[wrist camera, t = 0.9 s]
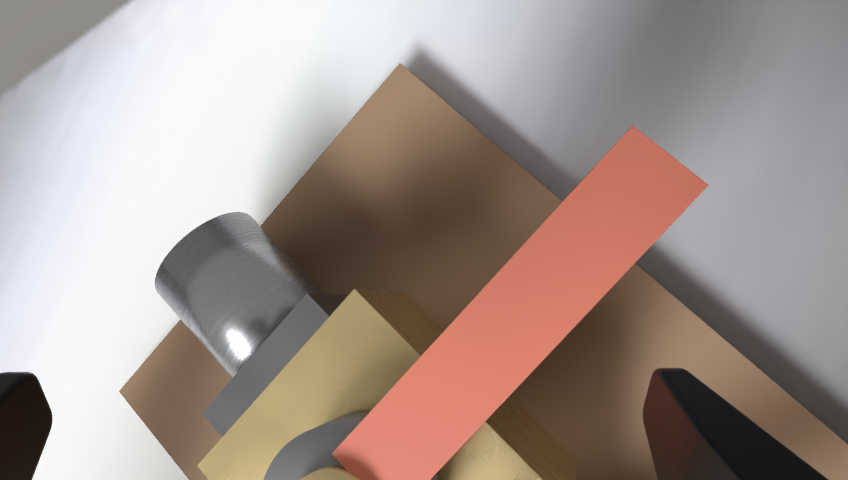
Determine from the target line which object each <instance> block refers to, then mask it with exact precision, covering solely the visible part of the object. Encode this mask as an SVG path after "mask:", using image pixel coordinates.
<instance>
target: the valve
mask: <svg viewBox="0 0 848 480" xmlns="http://www.w3.org/2000/svg"><path fill="white" fill-rule="evenodd" d="M155 288H156V291H157V292H158V294H159V295H160V296H161V297H162V298H163V299H164V301H165V302H166V303H167V304H168V305H169V306H170V307H171V309H172V310H173V311H174V312H175V313H176V314H177V316H178V317H179V318H180V319H181V320H182V321H183V322H184V324H185V325H186V326H187V327H188V328H189V329H190V331H191V332H192V333H193V334H194V335H195V336H196V338H197V339H198V340H199V341H200V342H201V343H202V344H203V346H204V347H205V348H206V349H207V350H208V351H209V353H210V354H211V355H212V356H213V357H214V358H215V360H216V361H217V362H218V363H219V364H220V365H221V366H222V368H223V369H224V370H225V371H226V372H227V373H228V375H229V376H230V377H231V378H232V379H231V380H230V381H229V382H228V384H227V385H226V386H225V387H224V388H223V389H222V390H221V392H220V393H219V394H218V395H217V396H216V397H215V398H214V400H213V401H212V402H211V403H210V404H209V405H208V406H207V408H206V409H205V410H204V411H203V412H202V413H203V415H204V416H205V417H206V418H207V419H208V421H209V422H210V423H211V424H212V425H213V427H214V428H215V429H216V430H217V432H218V433H219V434H220V435H221V436H222V438H221V439H220V440H219V442H218V443H217V444H216V445H215V446H214V447H213V448H212V449H211V451H210V452H209V453H208V454H207V455H206V456H205V457H204V458H203V460H202V461H201V462H200V463H199V464H198V465H197V466H198V467H199V469H200V470H201V471H202V472H203V474H204V475H205V476H206V477H207V479H208V480H264V477H265V474H266V472H267V470H268V468H269V466H270V464H271V462H272V461H273V459H274V458H275V456H276V455H277V454H278V452H279V451H280V450H281V449H282V448H283V447H284V446H285V445H286V444H287V443H288V442H290V441H291V440H292V439H294V438H295V437H297V436H298V435H300V434H302V433H304V432H306V431H308V430H311V429H313V428H315V427H317V426H320V425H322V424H324V423H326V422H329V421H331V420H333V419H335V418H338V417H340V416H343V415H346V414H350V413H355V412H370V411H371V410H372V409H373V408H374V407H375V406H376V405H377V404H378V403H379V402H380V400H381V399H382V398H383V397H384V396H385V395H386V394H387V393H388V392H389V391H390V390H391V388H392V387H393V386H394V385H395V384H396V383H397V382H398V381H399V380H400V379H401V378H402V376H403V375H404V374H405V373H406V372H407V371H408V370H409V369H410V368H411V367H412V366H413V364H414V363H415V362H416V361H417V360H418V359H419V358H420V357H421V356H422V355H423V354H424V352H425V351H426V350H427V349H428V348H429V347H430V346H431V345H432V344H433V343H434V342H435V340H436V339H437V338H438V337H439V336H440V335H441V334H442V333H443V332H444V331H445V330H444V329H443V328H441V327H440V326H439V325H438V324H437V323H436V322H435V321H434V320H433V319H432V318H431V317H430V316H429V315H428V314H427V313H426V312H425V311H424V310H423V309H422V308H421V307H420V306H419V305H418V304H417V303H416V302H415V301H414V300H413V299H412V298H411V297H410V296H409V295H408V294H407V293H406V292H396V291H381V290H366V289H354V290H353V291H352V292H351V293H350V294H349V295H341V294H325V293H324V292H323V291H322V289H321V288H320V287H319V286H318V285H317V284H316V283H315V282H314V281H313V280H312V279H311V278H310V277H309V276H308V275H307V274H306V273H305V272H304V271H303V270H302V269H301V268H300V267H299V266H298V265H297V264H296V263H295V262H294V260H293V259H292V258H291V257H290V256H289V255H288V254H287V253H286V252H285V251H284V250H283V249H282V248H281V247H280V246H279V245H278V244H277V243H276V242H275V241H274V240H273V239H272V238H271V237H270V236H269V235H268V234H267V233H266V231H265V230H264V229H263V228H262V227H261V226H260V225H259V224H258V223H257V222H256V221H255V220H254V219H253V218H252V217H251V216H250V215H248V214H246V213H241V212H233V213H228V214H224V215H221V216H218V217H215V218H213V219H211V220H209V221H207V222H205V223H203V224H202V225H200V226H199V227H197V228H196V229H194V230H193V231H191V232H190V233H189V234H187V235H186V236H185V237H184V238H183V239H182V240H181V241H180V242H178V243H177V244H176V245H175V246H174V248H173V249H172V250H171V251H170V252H169V253H168V255H167V256H166V257H165V259H164V260H163V262H162V263H161V265H160V267H159V269H158V272H157V274H156V278H155ZM577 465H578V461H576V460H575V459H574V458H573V457H572V456H571V455H570V454H569V453H568V452H567V451H566V450H565V449H564V448H563V447H562V446H561V445H560V444H559V443H558V442H557V441H556V440H555V439H554V438H553V437H552V436H551V435H550V434H549V433H548V432H547V431H546V430H545V429H544V428H543V427H542V426H541V425H540V424H539V423H538V422H537V421H536V420H535V419H534V418H533V417H532V416H531V415H530V414H529V413H528V412H527V411H526V410H525V409H524V408H523V407H522V406H521V405H520V404H519V403H518V402H517V401H516V400H515V399H514V398H513V397H512V396H511V395H510V396H509V397H508V398H507V399H506V400H505V401H504V402H503V403H502V404H501V405H500V406H499V407H498V408H497V410H496V411H495V412H494V413H493V414H492V415H491V416H490V417H489V418H488V419H487V420H486V421H485V422H484V423H483V424H482V425H481V426H480V428H479V429H478V430H477V431H476V432H475V433H474V434H473V435H472V436H471V437H470V438H469V439H468V440H467V441H466V442H465V443H464V444H463V446H462V447H461V448H460V449H459V450H458V451H457V452H456V453H455V454H454V455H453V456H452V457H451V458H450V459H449V460H448V461H447V462H446V464H445V465H444V466H443V467H442V468H441V469H440V470H439V471H438V472H437V477H438V480H576V477H577Z"/></svg>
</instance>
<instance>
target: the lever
mask: <svg viewBox="0 0 848 480" xmlns="http://www.w3.org/2000/svg"><path fill="white" fill-rule="evenodd" d="M707 186H708V184H707V183H705V182H704V181H703V180H702V179H700V178H699V177H698V176H696V175H695V174H694V173H693V172H691V171H690V170H689V169H688V168H686V167H685V166H684V165H682V164H681V163H680V162H679V161H677V160H676V159H675V158H673V157H672V156H671V155H670V154H668V153H667V152H666V151H664V150H663V149H662V148H661V147H659V146H658V145H657V144H655V143H654V142H653V141H652V140H650V139H649V138H648V137H646V136H645V135H644V134H643V133H641V132H640V131H639V130H638V129H636V128H635V127H634V126H632V127H631V128H630V129H629V130H628V131H627V132H626V133H625V134H624V135H623V136H622V138H621V139H620V140H619V141H618V142H617V143H616V144H615V145H614V146H613V147H612V148H611V150H610V151H609V152H608V153H607V154H606V155H605V156H604V157H603V158H602V159H601V160H600V162H599V163H598V164H597V165H596V166H595V167H594V168H593V169H592V170H591V171H590V172H589V174H588V175H587V176H586V177H585V178H584V179H583V180H582V181H581V182H580V183H579V184H578V186H577V187H576V188H575V189H574V190H573V191H572V192H571V193H570V194H569V195H568V196H567V198H566V199H565V200H564V201H563V202H562V203H561V204H560V205H559V206H558V207H557V208H556V210H555V211H554V212H553V213H552V214H551V215H550V216H549V217H548V218H547V219H546V220H545V222H544V223H543V224H542V225H541V226H540V227H539V228H538V229H537V230H536V231H535V232H534V234H533V235H532V236H531V237H530V238H529V239H528V240H527V241H526V242H525V243H524V244H523V246H522V247H521V248H520V249H519V250H518V251H517V252H516V253H515V254H514V255H513V256H512V258H511V259H510V260H509V261H508V262H507V263H506V264H505V265H504V266H503V267H502V268H501V270H500V271H499V272H498V273H497V274H496V275H495V276H494V277H493V278H492V279H491V280H490V282H489V283H488V284H487V285H486V286H485V287H484V288H483V289H482V290H481V291H480V292H479V294H478V295H477V296H476V297H475V298H474V299H473V300H472V301H471V302H470V303H469V304H468V306H467V307H466V308H465V309H464V310H463V311H462V312H461V313H460V314H459V315H458V316H457V318H456V319H455V320H454V321H453V322H452V323H451V324H450V325H449V326H448V327H447V328H446V330H445V331H444V332H443V333H442V334H441V335H440V336H439V337H438V338H437V339H436V340H435V342H434V343H433V344H432V345H431V346H430V347H429V348H428V349H427V350H426V351H425V352H424V354H423V355H422V356H421V357H420V358H419V359H418V360H417V361H416V362H415V363H414V364H413V366H412V367H411V368H410V369H409V370H408V371H407V372H406V373H405V374H404V375H403V376H402V378H401V379H400V380H399V381H398V382H397V383H396V384H395V385H394V386H393V387H392V388H391V390H390V391H389V392H388V393H387V394H386V395H385V396H384V397H383V398H382V399H381V400H380V402H379V403H378V404H377V405H376V406H375V407H374V408H373V409H372V410H371V411H370V412H355V413H350V414H346V415H343V416H340V417H338V418H335V419H333V420H331V421H329V422H326V423H324V424H322V425H320V426H317V427H315V428H313V429H311V430H308V431H306V432H304V433H302V434H300V435H298V436H297V437H295V438H294V439H292V440H291V441H290V442H288V443H287V444H286V445H285V446H284V447H283V448H282V449H281V450H280V451H279V452H278V454H277V455H276V456H275V458H274V459H273V461H272V462H271V464H270V466H269V468H268V470H267V472H266V474H265V477H264V480H438V477H437V472H438V471H439V470H440V469H441V468H442V467H443V466H444V465H445V464H446V462H447V461H448V460H449V459H450V458H451V457H452V456H453V455H454V454H455V453H456V452H457V451H458V450H459V449H460V448H461V447H462V446H463V444H464V443H465V442H466V441H467V440H468V439H469V438H470V437H471V436H472V435H473V434H474V433H475V432H476V431H477V430H478V429H479V428H480V426H481V425H482V424H483V423H484V422H485V421H486V420H487V419H488V418H489V417H490V416H491V415H492V414H493V413H494V412H495V411H496V410H497V408H498V407H499V406H500V405H501V404H502V403H503V402H504V401H505V400H506V399H507V398H508V397H509V396H510V395H511V394H512V393H513V392H514V390H515V389H516V388H517V387H518V386H519V385H520V384H521V383H522V382H523V381H524V380H525V379H526V378H527V377H528V376H529V375H530V374H531V373H532V371H533V370H534V369H535V368H536V367H537V366H538V365H539V364H540V363H541V362H542V361H543V360H544V359H545V358H546V357H547V356H548V355H549V353H550V352H551V351H552V350H553V349H554V348H555V347H556V346H557V345H558V344H559V343H560V342H561V341H562V340H563V339H564V338H565V337H566V335H567V334H568V333H569V332H570V331H571V330H572V329H573V328H574V327H575V326H576V325H577V324H578V323H579V322H580V321H581V320H582V319H583V317H584V316H585V315H586V314H587V313H588V312H589V311H590V310H591V309H592V308H593V307H594V306H595V305H596V304H597V303H598V302H599V301H600V299H601V298H602V297H603V296H604V295H605V294H606V293H607V292H608V291H609V290H610V289H611V288H612V287H613V286H614V285H615V284H616V283H617V281H618V280H619V279H620V278H621V277H622V276H623V275H624V274H625V273H626V272H627V271H628V270H629V269H630V268H631V267H632V266H633V265H634V263H635V262H636V261H637V260H638V259H639V258H640V257H641V256H642V255H643V254H644V253H645V252H646V251H647V250H648V249H649V248H650V247H651V245H652V244H653V243H654V242H655V241H656V240H657V239H658V238H659V237H660V236H661V235H662V234H663V233H664V232H665V231H666V230H667V229H668V228H669V226H670V225H671V224H672V223H673V222H674V221H675V220H676V219H677V218H678V217H679V216H680V215H681V214H682V213H683V212H684V211H685V210H686V208H687V207H688V206H689V205H690V204H691V203H692V202H693V201H694V200H695V199H696V198H697V197H698V196H699V195H700V194H701V193H702V192H703V190H704V189H705V188H706V187H707Z"/></svg>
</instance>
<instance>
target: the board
mask: <svg viewBox="0 0 848 480" xmlns="http://www.w3.org/2000/svg"><path fill="white" fill-rule="evenodd" d="M562 202H563V201H561V200H560V199H559V198H558V197H557V196H555V195H554V194H553V193H552V192H551V191H550V190H548V189H547V188H546V187H545V186H544V185H543V184H541V183H540V182H539V181H538V180H537V179H536V178H534V177H533V176H532V175H531V174H530V173H528V172H527V171H526V170H525V169H524V168H523V167H521V166H520V165H519V164H518V163H517V162H516V161H514V160H513V159H512V158H511V157H510V156H508V155H507V154H506V153H505V152H504V151H503V150H501V149H500V148H499V147H498V146H497V145H496V144H494V143H493V142H492V141H491V140H490V139H489V138H487V137H486V136H485V135H484V134H483V133H481V132H480V131H479V130H478V129H477V128H476V127H474V126H473V125H472V124H471V123H470V122H469V121H467V120H466V119H465V118H464V117H463V116H461V115H460V114H459V113H458V112H457V111H456V110H454V109H453V108H452V107H451V106H450V105H449V104H447V103H446V102H445V101H444V100H443V99H442V98H440V97H439V96H438V95H437V94H436V93H434V92H433V91H432V90H431V89H430V88H429V87H427V86H426V85H425V84H424V83H423V82H422V81H420V80H419V79H418V78H417V77H416V76H415V75H413V74H412V73H411V72H410V71H409V70H407V69H406V68H405V67H404V66H403V65H402V64H399V65H398V66H397V67H396V68H395V70H394V71H393V72H392V73H391V74H390V75H389V77H388V78H387V79H386V80H385V81H384V82H383V84H382V85H381V86H380V87H379V88H378V89H377V91H376V92H375V93H374V94H373V95H372V96H371V98H370V99H369V100H368V101H367V102H366V103H365V105H364V106H363V107H362V108H361V109H360V110H359V112H358V113H357V114H356V115H355V116H354V117H353V119H352V120H351V121H350V122H349V123H348V124H347V126H346V127H345V128H344V129H343V130H342V131H341V133H340V134H339V135H338V136H337V137H336V138H335V140H334V141H333V142H332V143H331V144H330V146H329V147H328V148H327V149H326V150H325V151H324V153H323V154H322V155H321V156H320V157H319V158H318V160H317V161H316V162H315V163H314V164H313V165H312V167H311V168H310V169H309V170H308V171H307V172H306V174H305V175H304V176H303V177H302V178H301V179H300V181H299V182H298V183H297V184H296V185H295V186H294V188H293V189H292V190H291V191H290V192H289V193H288V195H287V196H286V197H285V198H284V199H283V200H282V202H281V203H280V204H279V205H278V206H277V207H276V209H275V210H274V211H273V212H272V213H271V214H270V216H269V217H268V218H267V219H266V220H265V221H264V223H263V224H262V225H261V227H262V228H263V229H264V230H265V231H266V233H267V234H268V235H269V236H270V237H271V238H272V239H273V240H274V241H275V242H276V243H277V244H278V245H279V246H280V247H281V248H282V249H283V250H284V251H285V252H286V253H287V254H288V255H289V256H290V257H291V258H292V259H293V260H294V262H295V263H296V264H297V265H298V266H299V267H300V268H301V269H302V270H303V271H304V272H305V273H306V274H307V275H308V276H309V277H310V278H311V279H312V280H313V281H314V282H315V283H316V284H317V285H318V286H319V287H320V288H321V289H322V291H323V292H324V293H325V294H341V295H349V294H350V293H351V292H352V291H353V290H354V289H366V290H381V291H396V292H406V293H407V294H408V295H409V296H410V297H411V298H412V299H413V300H414V301H415V302H416V303H417V304H418V305H419V306H420V307H421V308H422V309H423V310H424V311H425V312H426V313H427V314H428V315H429V316H430V317H431V318H432V319H433V320H434V321H435V322H436V323H437V324H438V325H439V326H440V327H441V328H443V329H444V330H446V328H447V327H448V326H449V325H450V324H451V323H452V322H453V321H454V320H455V319H456V318H457V316H458V315H459V314H460V313H461V312H462V311H463V310H464V309H465V308H466V307H467V306H468V304H469V303H470V302H471V301H472V300H473V299H474V298H475V297H476V296H477V295H478V294H479V292H480V291H481V290H482V289H483V288H484V287H485V286H486V285H487V284H488V283H489V282H490V280H491V279H492V278H493V277H494V276H495V275H496V274H497V273H498V272H499V271H500V270H501V268H502V267H503V266H504V265H505V264H506V263H507V262H508V261H509V260H510V259H511V258H512V256H513V255H514V254H515V253H516V252H517V251H518V250H519V249H520V248H521V247H522V246H523V244H524V243H525V242H526V241H527V240H528V239H529V238H530V237H531V236H532V235H533V234H534V232H535V231H536V230H537V229H538V228H539V227H540V226H541V225H542V224H543V223H544V222H545V220H546V219H547V218H548V217H549V216H550V215H551V214H552V213H553V212H554V211H555V210H556V208H557V207H558V206H559V205H560V204H561V203H562ZM657 368H683V369H686V370H687V371H689V372H690V373H691V374H693V375H694V376H695V377H697V378H698V379H699V380H700V381H702V382H703V383H704V384H706V385H707V386H708V387H709V388H711V389H712V390H713V391H715V392H716V393H717V394H719V395H720V396H721V397H722V398H724V399H725V400H726V401H728V402H729V403H730V404H731V405H733V406H734V407H735V408H737V409H738V410H739V411H741V412H742V413H743V414H744V415H746V416H747V417H748V418H750V419H751V420H752V421H753V422H755V423H756V424H757V425H759V426H760V427H761V428H763V429H764V430H765V431H766V432H768V433H769V434H770V435H772V436H773V437H774V438H776V439H777V440H778V441H779V442H781V443H782V444H783V445H785V446H786V447H787V448H788V449H790V450H791V451H792V452H794V453H795V454H796V455H798V456H799V457H800V458H801V459H803V460H804V461H805V462H807V463H808V464H809V465H810V466H812V467H813V468H814V469H816V470H817V471H818V472H820V473H821V474H822V475H823V476H825V477H826V478H827V479H829V480H848V444H847V443H846V442H844V441H843V440H842V439H841V438H840V437H839V436H837V435H836V434H835V433H834V432H833V431H832V430H830V429H829V428H828V427H827V426H826V425H824V424H823V423H822V422H821V421H820V420H819V419H817V418H816V417H815V416H814V415H813V414H812V413H810V412H809V411H808V410H807V409H806V408H805V407H803V406H802V405H801V404H800V403H799V402H797V401H796V400H795V399H794V398H793V397H792V396H790V395H789V394H788V393H787V392H786V391H785V390H783V389H782V388H781V387H780V386H779V385H777V384H776V383H775V382H774V381H773V380H772V379H770V378H769V377H768V376H767V375H766V374H765V373H763V372H762V371H761V370H760V369H759V368H758V367H756V366H755V365H754V364H753V363H752V362H750V361H749V360H748V359H747V358H746V357H745V356H743V355H742V354H741V353H740V352H739V351H738V350H736V349H735V348H734V347H733V346H732V345H731V344H729V343H728V342H727V341H726V340H725V339H723V338H722V337H721V336H720V335H719V334H718V333H716V332H715V331H714V330H713V329H712V328H711V327H709V326H708V325H707V324H706V323H705V322H703V321H702V320H701V319H700V318H699V317H698V316H696V315H695V314H694V313H693V312H692V311H691V310H689V309H688V308H687V307H686V306H685V305H684V304H682V303H681V302H680V301H679V300H678V299H676V298H675V297H674V296H673V295H672V294H671V293H669V292H668V291H667V290H666V289H665V288H664V287H662V286H661V285H660V284H659V283H658V282H656V281H655V280H654V279H653V278H652V277H651V276H649V275H648V274H647V273H646V272H645V271H644V270H642V269H641V268H640V267H639V266H638V265H637V264H635V263H634V265H633V266H632V267H631V268H630V269H629V270H628V271H627V272H626V273H625V274H624V275H623V276H622V277H621V278H620V279H619V280H618V281H617V283H616V284H615V285H614V286H613V287H612V288H611V289H610V290H609V291H608V292H607V293H606V294H605V295H604V296H603V297H602V298H601V299H600V301H599V302H598V303H597V304H596V305H595V306H594V307H593V308H592V309H591V310H590V311H589V312H588V313H587V314H586V315H585V316H584V317H583V319H582V320H581V321H580V322H579V323H578V324H577V325H576V326H575V327H574V328H573V329H572V330H571V331H570V332H569V333H568V334H567V335H566V337H565V338H564V339H563V340H562V341H561V342H560V343H559V344H558V345H557V346H556V347H555V348H554V349H553V350H552V351H551V352H550V353H549V355H548V356H547V357H546V358H545V359H544V360H543V361H542V362H541V363H540V364H539V365H538V366H537V367H536V368H535V369H534V370H533V371H532V373H531V374H530V375H529V376H528V377H527V378H526V379H525V380H524V381H523V382H522V383H521V384H520V385H519V386H518V387H517V388H516V389H515V390H514V392H513V393H512V394H511V396H512V397H513V398H514V399H515V400H516V401H517V402H518V403H519V404H520V405H521V406H522V407H523V408H524V409H525V410H526V411H527V412H528V413H529V414H530V415H531V416H532V417H533V418H534V419H535V420H536V421H537V422H538V423H539V424H540V425H541V426H542V427H543V428H544V429H545V430H546V431H547V432H548V433H549V434H550V435H551V436H552V437H553V438H554V439H555V440H556V441H557V442H558V443H559V444H560V445H561V446H562V447H563V448H564V449H565V450H566V451H567V452H568V453H569V454H570V455H571V456H572V457H573V458H574V459H575V460H576V461H578V465H577V477H576V480H657V476H656V472H655V468H654V464H653V460H652V456H651V452H650V447H649V443H648V439H647V435H646V431H645V427H644V423H643V406H644V402H645V398H646V395H647V391H648V387H649V383H650V379H651V376H652V373H653V372H654V370H656V369H657ZM231 379H232V378H231V377H230V376H229V375H228V373H227V372H226V371H225V370H224V369H223V368H222V366H221V365H220V364H219V363H218V362H217V361H216V360H215V358H214V357H213V356H212V355H211V354H210V353H209V351H208V350H207V349H206V348H205V347H204V346H203V344H202V343H201V342H200V341H199V340H198V339H197V338H196V336H195V335H194V334H193V333H192V332H191V331H190V329H189V328H188V327H187V326H186V325H185V324H184V322H183V321H182V320H180V321H179V322H178V323H177V324H176V325H175V327H174V328H173V329H172V330H171V331H170V332H169V334H168V335H167V336H166V337H165V338H164V339H163V341H162V342H161V343H160V344H159V345H158V347H157V348H156V349H155V350H154V351H153V352H152V354H151V355H150V356H149V357H148V358H147V359H146V361H145V362H144V363H143V364H142V365H141V366H140V368H139V369H138V370H137V371H136V372H135V373H134V375H133V376H132V377H131V378H130V379H129V380H128V382H127V383H126V384H125V385H124V386H123V387H122V389H121V390H120V391H119V392H120V393H121V394H122V396H123V397H124V398H125V399H126V401H127V402H128V403H129V404H130V406H131V407H132V408H133V409H134V411H135V412H136V413H137V414H138V416H139V417H140V418H141V420H142V421H143V422H144V423H145V425H146V426H147V427H148V428H149V430H150V431H151V432H152V433H153V435H154V436H155V437H156V438H157V440H158V441H159V442H160V443H161V445H162V446H163V447H164V448H165V450H166V451H167V452H168V454H169V455H170V456H171V457H172V459H173V460H174V461H175V462H176V464H177V465H178V466H179V467H180V469H181V470H182V471H183V472H184V474H185V475H186V476H187V477H188V479H189V480H208V479H207V477H206V476H205V475H204V474H203V472H202V471H201V470H200V469H199V467H198V466H197V465H198V464H199V463H200V462H201V461H202V460H203V458H204V457H205V456H206V455H207V454H208V453H209V452H210V451H211V449H212V448H213V447H214V446H215V445H216V444H217V443H218V442H219V440H220V439H221V438H222V436H221V435H220V434H219V433H218V432H217V430H216V429H215V428H214V427H213V425H212V424H211V423H210V422H209V421H208V419H207V418H206V417H205V416H204V415H203V413H202V412H203V411H204V410H205V409H206V408H207V406H208V405H209V404H210V403H211V402H212V401H213V400H214V398H215V397H216V396H217V395H218V394H219V393H220V392H221V390H222V389H223V388H224V387H225V386H226V385H227V384H228V382H229V381H230V380H231Z"/></svg>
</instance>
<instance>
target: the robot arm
mask: <svg viewBox="0 0 848 480" xmlns="http://www.w3.org/2000/svg"><path fill="white" fill-rule="evenodd" d="M643 423H644V427H645V431H646V435H647V439H648V443H649V447H650V452H651V456H652V460H653V464H654V468H655V472H656V476H657V480H829V479H827V478H826V477H825V476H823V475H822V474H821V473H820V472H818V471H817V470H816V469H814V468H813V467H812V466H810V465H809V464H808V463H807V462H805V461H804V460H803V459H801V458H800V457H799V456H798V455H796V454H795V453H794V452H792V451H791V450H790V449H788V448H787V447H786V446H785V445H783V444H782V443H781V442H779V441H778V440H777V439H776V438H774V437H773V436H772V435H770V434H769V433H768V432H766V431H765V430H764V429H763V428H761V427H760V426H759V425H757V424H756V423H755V422H753V421H752V420H751V419H750V418H748V417H747V416H746V415H744V414H743V413H742V412H741V411H739V410H738V409H737V408H735V407H734V406H733V405H731V404H730V403H729V402H728V401H726V400H725V399H724V398H722V397H721V396H720V395H719V394H717V393H716V392H715V391H713V390H712V389H711V388H709V387H708V386H707V385H706V384H704V383H703V382H702V381H700V380H699V379H698V378H697V377H695V376H694V375H693V374H691V373H690V372H689V371H687V370H686V369H683V368H657V369H656V370H654V372H653V373H652V376H651V379H650V383H649V387H648V391H647V395H646V398H645V402H644V406H643ZM51 426H52V412H51V409H50V407H49V404H48V402H47V400H46V397H45V395H44V392H43V390H42V388H41V385H40V383H39V381H38V379H37V377H36V376H35V375H34V374H33V373H29V372H5V373H0V480H32V478H33V475H34V472H35V470H36V467H37V464H38V462H39V459H40V457H41V454H42V451H43V449H44V446H45V443H46V441H47V438H48V435H49V433H50V430H51Z"/></svg>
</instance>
